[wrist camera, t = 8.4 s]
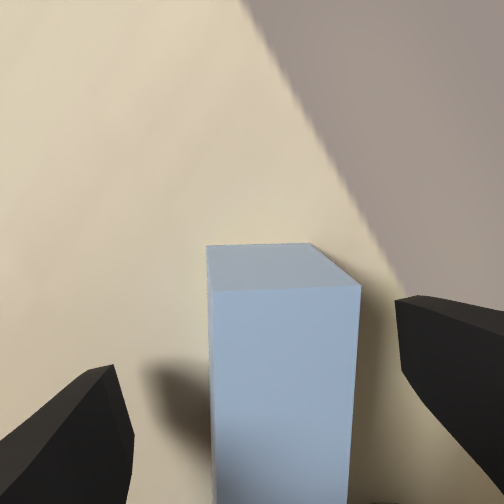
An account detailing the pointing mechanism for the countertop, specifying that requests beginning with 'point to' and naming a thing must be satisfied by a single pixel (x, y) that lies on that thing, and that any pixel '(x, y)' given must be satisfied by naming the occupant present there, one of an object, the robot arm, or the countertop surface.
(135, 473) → the countertop surface
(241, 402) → the push bar
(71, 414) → the robot arm
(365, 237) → the countertop surface
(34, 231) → the countertop surface
